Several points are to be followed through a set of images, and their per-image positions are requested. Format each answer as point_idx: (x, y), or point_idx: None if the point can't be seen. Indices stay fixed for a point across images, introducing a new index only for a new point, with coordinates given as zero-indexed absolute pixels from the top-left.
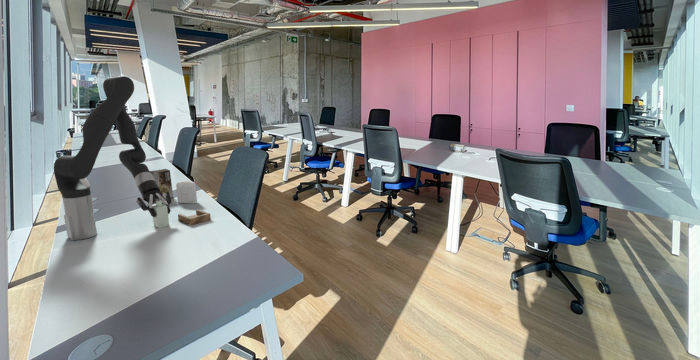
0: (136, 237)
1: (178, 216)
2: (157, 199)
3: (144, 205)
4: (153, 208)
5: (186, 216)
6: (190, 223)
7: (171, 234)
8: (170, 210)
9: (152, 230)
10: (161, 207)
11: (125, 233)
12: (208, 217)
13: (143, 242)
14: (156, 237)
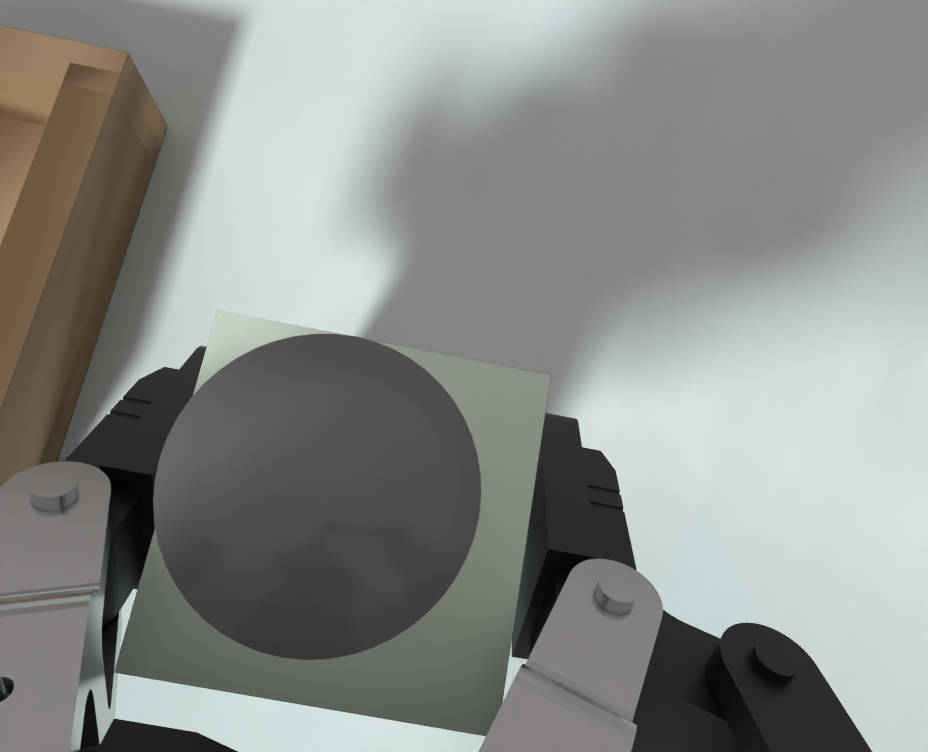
0: (876, 381)
1: (4, 472)
2: (444, 395)
3: (816, 726)
4: (509, 590)
5: (26, 211)
6: (150, 107)
7: (554, 73)
8: (160, 370)
9: (598, 442)
10: (395, 348)
11: (904, 703)
12: None
13: (898, 147)
14: (721, 150)
